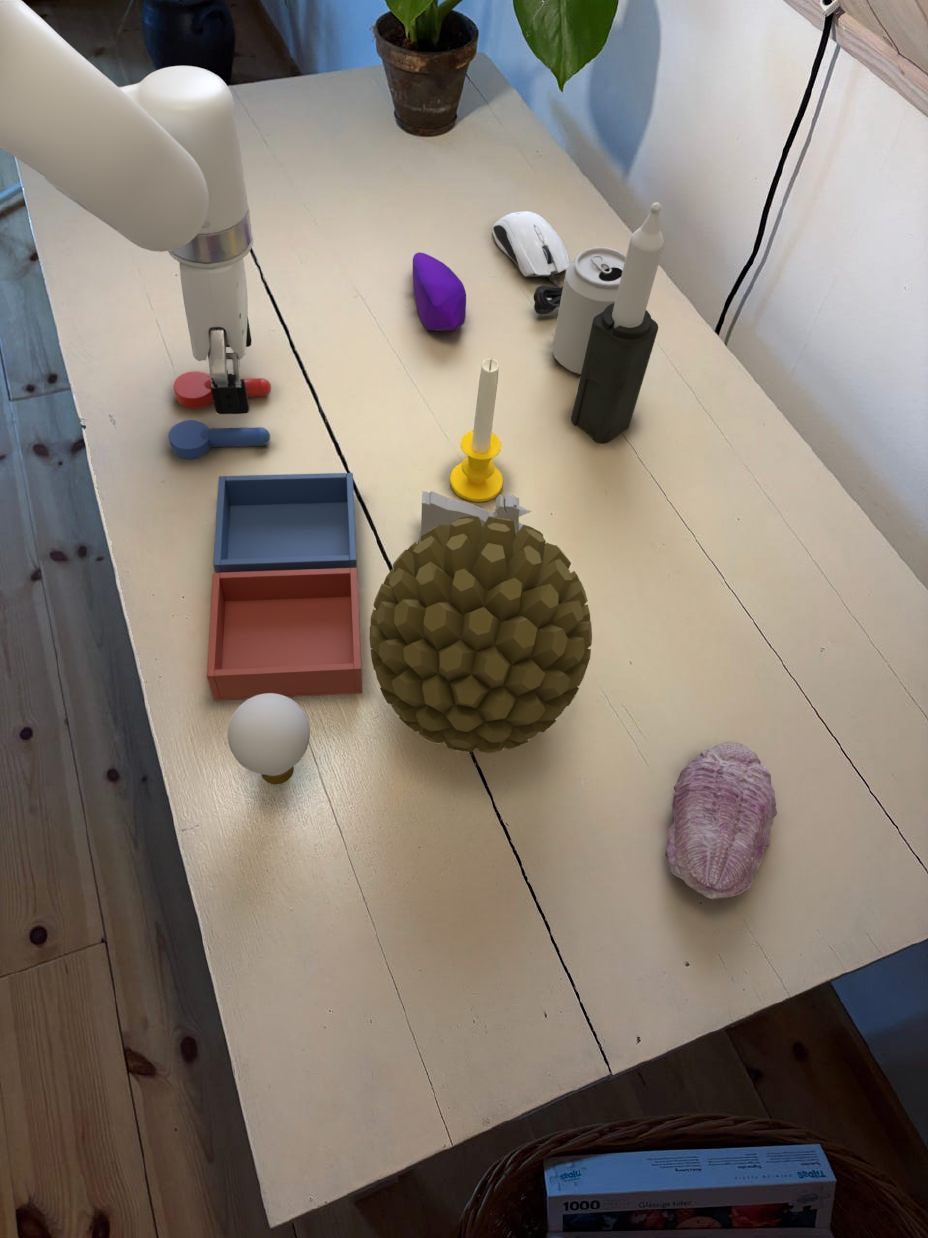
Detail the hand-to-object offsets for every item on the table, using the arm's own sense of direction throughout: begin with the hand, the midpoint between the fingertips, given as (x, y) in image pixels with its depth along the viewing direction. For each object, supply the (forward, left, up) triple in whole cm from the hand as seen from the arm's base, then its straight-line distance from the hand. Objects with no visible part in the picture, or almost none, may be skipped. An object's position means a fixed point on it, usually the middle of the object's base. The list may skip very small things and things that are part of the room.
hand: (234, 377), depth 96 cm
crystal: (+22, +14, -2) cm, 26 cm away
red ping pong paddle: (-1, 0, -2) cm, 3 cm away
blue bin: (+5, -20, -2) cm, 21 cm away
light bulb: (+5, -43, -2) cm, 43 cm away
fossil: (+39, -50, -2) cm, 63 cm away
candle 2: (+38, -5, -2) cm, 38 cm away
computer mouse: (+35, +21, -2) cm, 40 cm away
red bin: (+5, -31, -2) cm, 32 cm away
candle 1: (+24, -13, -2) cm, 27 cm away
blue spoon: (-1, -7, -2) cm, 8 cm away
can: (+38, +5, -2) cm, 38 cm away
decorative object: (+21, -37, -2) cm, 43 cm away
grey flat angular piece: (+23, -20, -2) cm, 30 cm away
